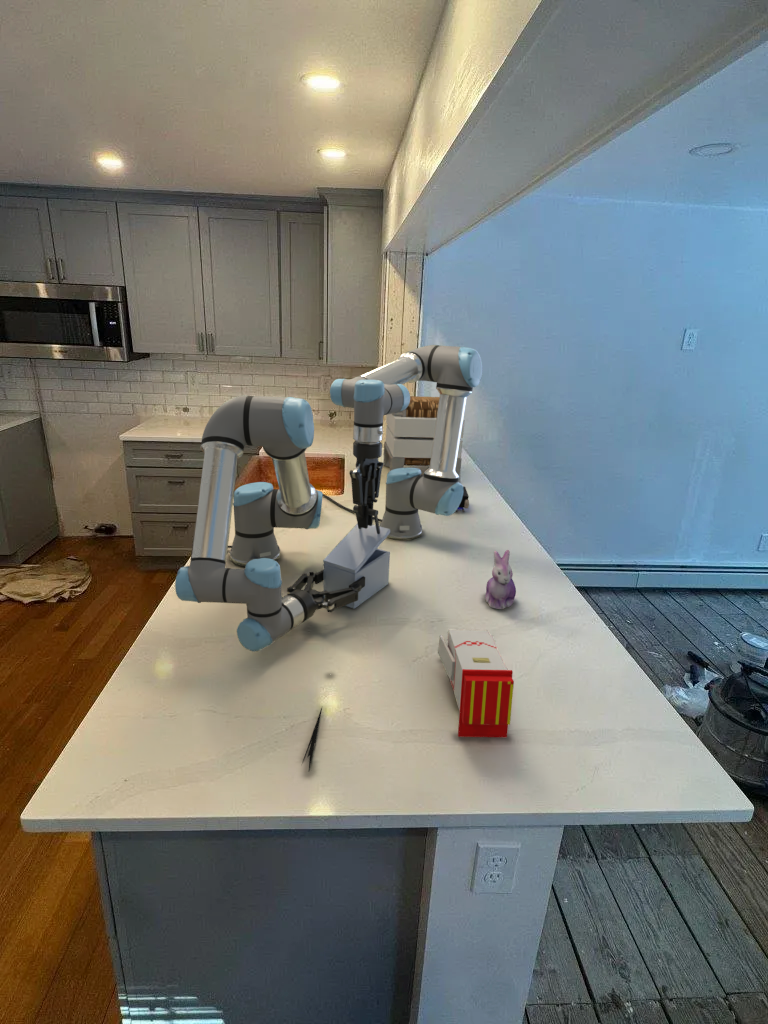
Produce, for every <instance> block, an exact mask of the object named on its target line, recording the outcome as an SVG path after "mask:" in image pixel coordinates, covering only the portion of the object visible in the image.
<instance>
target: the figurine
mask: <svg viewBox="0 0 768 1024" xmlns="http://www.w3.org/2000/svg"><path fill="white" fill-rule="evenodd" d="M510 555H511V551H510V550H509V549H506V550H505V552H504V553H503V555H502V557H501V555H500V553H499V552H498V551H497V550H494V551H493V558H494V559H493V562H494V565H493V568H492V570H491V575H492V577H490V578H489V579H488V580H487V583H486V586H485V589H486V590H485V594H484V596H485V597H484V599H485V602H486V603H487V604H488V607H490V608H492V609H498V610H504V609H505V608H510V607H511V606H512V605H513V603H514V602H515V597H516V596H517V595H516V594H517V588H516V584H515V581H514V580H513V576H514V575H513V574H514V573H513V570H512V567H511V565H510Z"/></svg>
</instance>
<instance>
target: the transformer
mask: <svg viewBox="0 0 768 1024" xmlns="http://www.w3.org/2000/svg"><path fill="white" fill-rule="evenodd" d="M439 397H440V396H415V395H414V396H413V395H412V396H411V395H410V403H409V405H408V407H407V408H406V409H404V410H402V411H400V412H397V413H392V414H388V415H385V423H386V428H385V438H384V442H383V467H388V468H389V472H390V471H391V470H394V469H398V468H405V466H406V467H407V466H411V467H412V466H413V467H415V466H416V467H417V466H418V467H430V460H431V453H432V446H433V439H434V432H435V425H436V418H437V411H438V404H439ZM464 429H465V419H464V418H463V424H462V430H461V437H460V443H459V450H458V456H457V463H456V469H455V471H456V473H457V474H458V476H459V480H458V482H459V483H461V472H462V461H463V460H462V453H463V442H464V441H463V440H462V439H463V438H464V431H465V430H464Z"/></svg>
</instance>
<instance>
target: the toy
mask: <svg viewBox="0 0 768 1024" xmlns="http://www.w3.org/2000/svg"><path fill="white" fill-rule="evenodd" d="M446 640H447V643H446V641H445V639H444V636H443V635H442V634H439V637H438V646H437V656H438V657H439V659H440V661H441V663H442V666H443V668H444V670H445V672H446V674H447V677H448V679H449V681H450V684H451V687H452V690H453V693H454V697H455V701H456V705H457V708H458V711H459V714H458V715H459V716H458V730H457V731H458V732H457V737H458V738H508V731H509V726H510V725H511V717H512V707H513V697H514V696H513V695H514V684H515V680H514V679H513V673H514V671H513V670H512V669H508V667H507V665H506V662H505V661H504V659H503V658H502V655H501V653H500V651H499V649H498V647H497V643H496V639H495V637H494V635H493V634H491V632H490V631H489V629H467V628H466V629H465V628H463V629H461V628H460V629H459V628H448V630H447V639H446Z"/></svg>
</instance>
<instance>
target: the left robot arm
mask: <svg viewBox="0 0 768 1024" xmlns="http://www.w3.org/2000/svg"><path fill="white" fill-rule="evenodd" d="M314 438H315V423H314V413H313V410H312V407H311V405H310V402H308V401H307V400H306V399H304V398H299V397H293V396H265V395H263V396H260V395H259V396H258V395H248V394H247V395H245V394H243V395H237V396H235V397H232V398H230V399H228V400H226V401H225V402H224V403H222V404H221V405H220V406H219V407H217V409H216V410H215V411H214V412H213V413H212V415H211V416H210V418H209V419H208V421H207V422H206V425H205V427H204V430H203V433H202V436H201V442H200V450H201V452H202V453H203V454H204V455H203V463H202V464H203V465H202V471H201V476H200V484H199V492H198V500H197V507H196V516H195V521H194V530H193V538H192V545H191V552H190V562H189V565H186V566H181V567H180V568H179V569H178V570H177V574H176V577H175V583H174V588H175V594H176V596H177V598H178V599H179V600H180V601H183V602H194V603H198V604H201V603H218V604H219V603H220V604H222V603H223V604H239V605H240V604H241V605H246V614H247V615H246V618H243V620H242V621H240V622H239V623H238V626H237V628H236V636H237V639H238V641H239V643H240V644H241V645H242V647H243V648H245V649H246V650H248V651H250V652H254V653H255V652H259V651H261V650H263V649H265V648H267V647H269V646H271V645H272V644H273V643H274V642H276V641H277V640H278V639H280V638H281V637H283V636H284V635H286V634H287V633H289V632H290V631H292V630H293V629H294V628H296V627H298V626H299V625H301V624H302V623H305V622H306V621H307V620H309V619H310V618H311V617H313V616H314V614H315V613H316V611H318V610H320V609H326V612H327V613H332V612H334V611H335V610H337V609H340V608H341V607H346V606H345V605H347V604H350V603H353V602H355V601H358V592H359V591H361V589H362V588H363V587H365V577H364V576H363V577H361V578H360V579H358V580H357V581H355V582H353V583H352V584H350V585H349V588H345V589H340V590H335V591H330V592H328V591H323V590H322V591H319V590H316V589H314V585H315V584H316V585H318V584H320V583H322V582H323V569H321V570H319V571H316V572H314V571H309V573H308V574H307V573H305V572H304V573H302V574H301V575H300V576H299V577H298V578H297V580H295V582H294V583H293V584H292V585H290V586H288V587H287V588H286V595H284V596H283V595H282V594H283V593H282V585H283V579H282V573H281V565H280V563H279V562H278V561H279V559H280V558H281V548H280V546H279V545H278V540H277V538H276V535H275V530H274V529H275V528H279V529H281V528H282V529H283V528H284V529H301V530H303V529H305V530H314V529H318V528H319V527H320V524H321V517H322V516H321V513H322V506H323V497H324V496H323V494H324V493H323V491H321V490H318V489H316V488H315V487H314V486H313V484H312V483H310V477H309V471H308V465H307V457H306V451H307V449H308V448H310V447H311V446H313V442H314ZM246 446H251V447H262V450H263V451H264V453H265V454H266V455H267V456H268V457H270V458H271V461H272V465H273V468H274V473H275V477H276V481H277V485H278V488H274V485H273V483H271V482H266V481H257V482H250V483H246V484H243V485H240V486H239V487H237V488H236V481H237V472H238V463H239V459H240V458H241V457H243V455H244V450H245V447H246ZM235 488H236V489H235ZM232 514H233V519H234V520H233V521H234V537H233V540H232V544H231V545H229V539H230V534H231V533H230V531H231V524H232ZM228 549H230V551H229V560H230V561H231V562H232V563H233V564H235V565H238V566H241V567H244V568H234V567H233V568H231V567H226V565H227V564H226V563H227V557H228ZM324 595H325V598H324Z"/></svg>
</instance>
